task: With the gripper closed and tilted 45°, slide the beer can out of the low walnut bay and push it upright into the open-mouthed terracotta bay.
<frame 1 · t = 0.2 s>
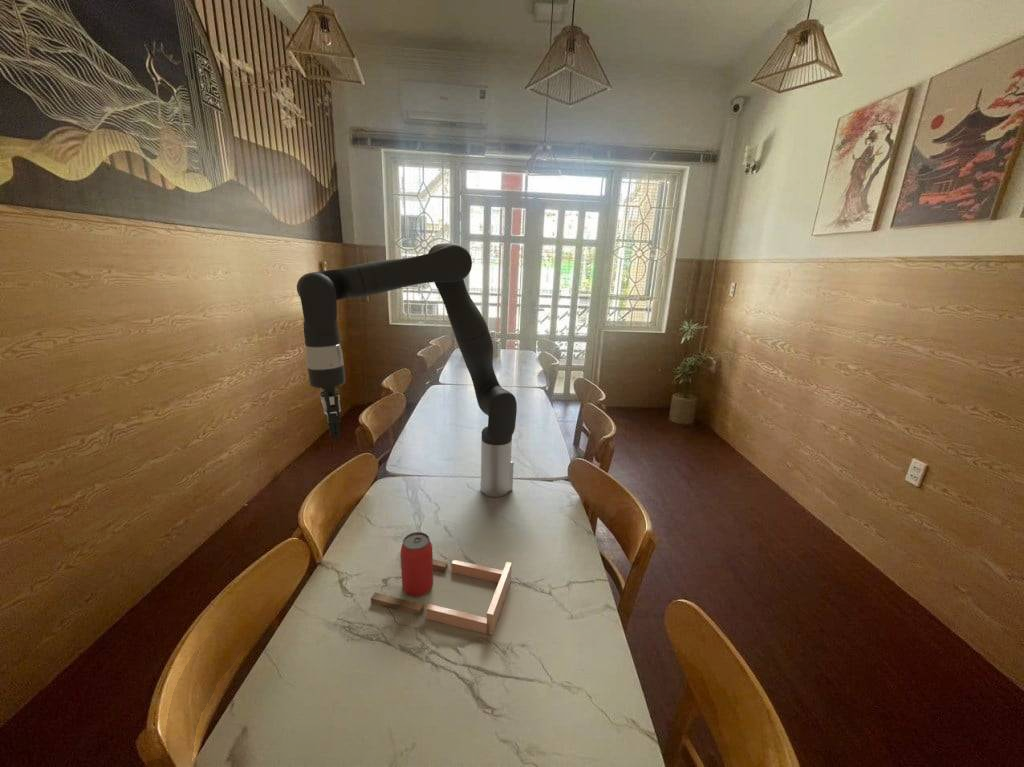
hand: (334, 430, 97), 29 cm above the table, tool pointing down, fingers open, 8 cm apart
walnut bay: (417, 586, 90), on the table
beer can: (417, 587, 90), on the table
terracotta bay: (469, 598, 87), on the table
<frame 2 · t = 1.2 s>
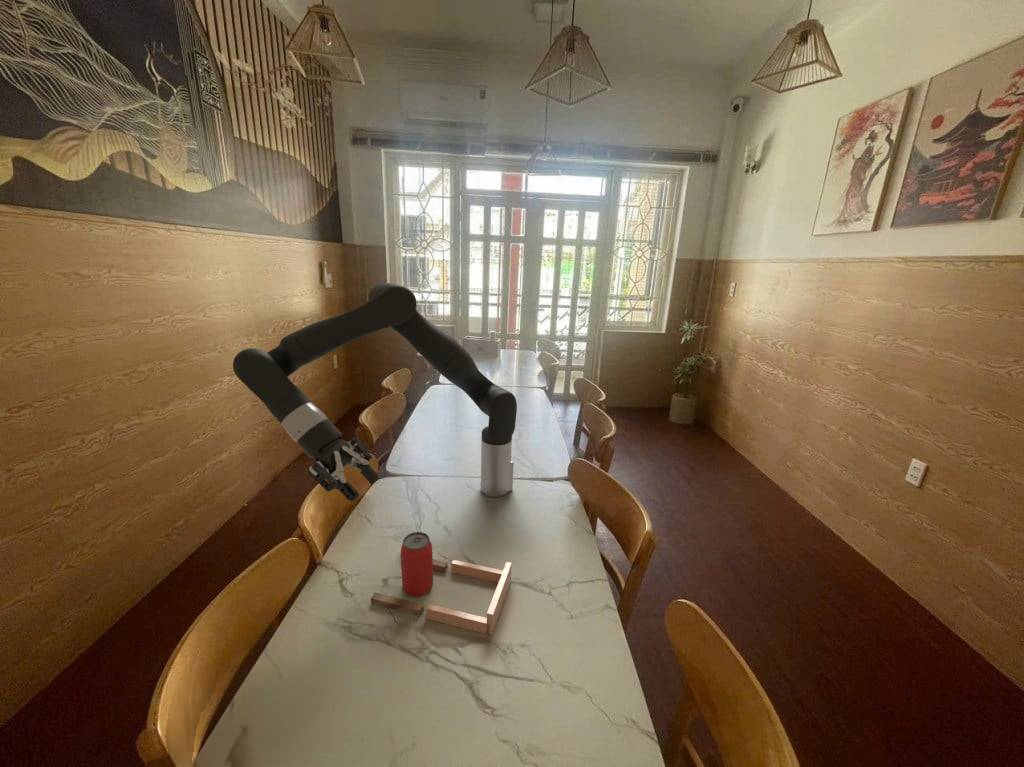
hand: (366, 489, 85), 22 cm above the table, tool tilted 45°, fingers open, 6 cm apart
nothing on the table moved.
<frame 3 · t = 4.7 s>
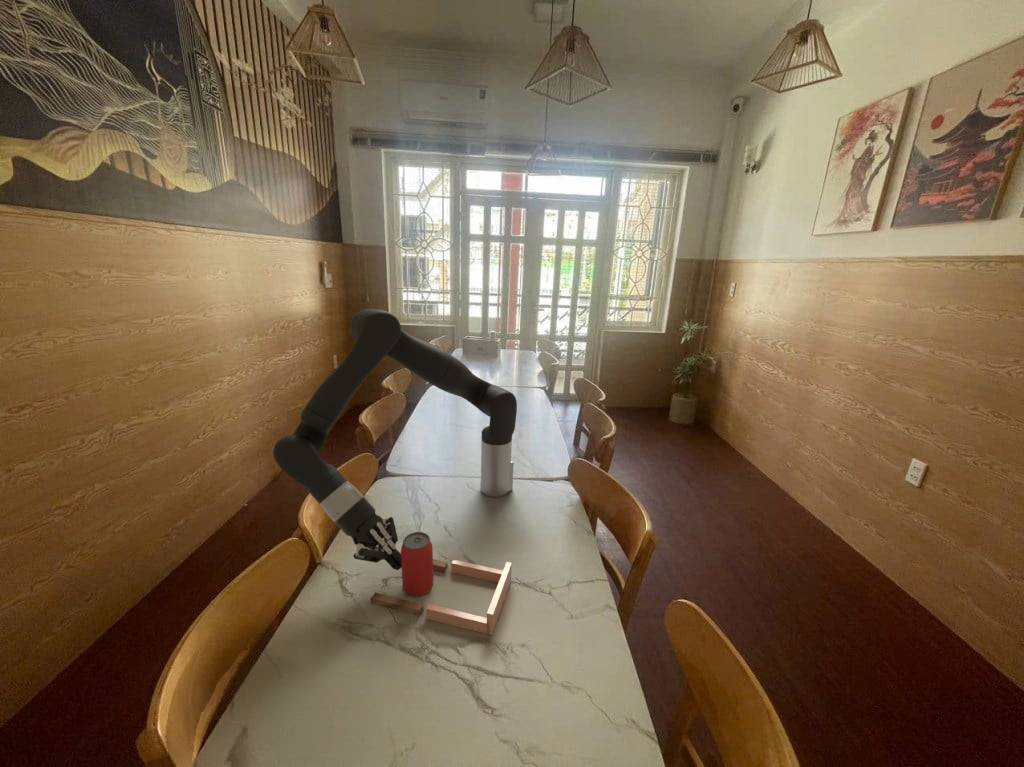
hand: (401, 566, 90), 4 cm above the table, tool tilted 45°, fingers closed
beer can: (418, 587, 90), on the table, touching gripper
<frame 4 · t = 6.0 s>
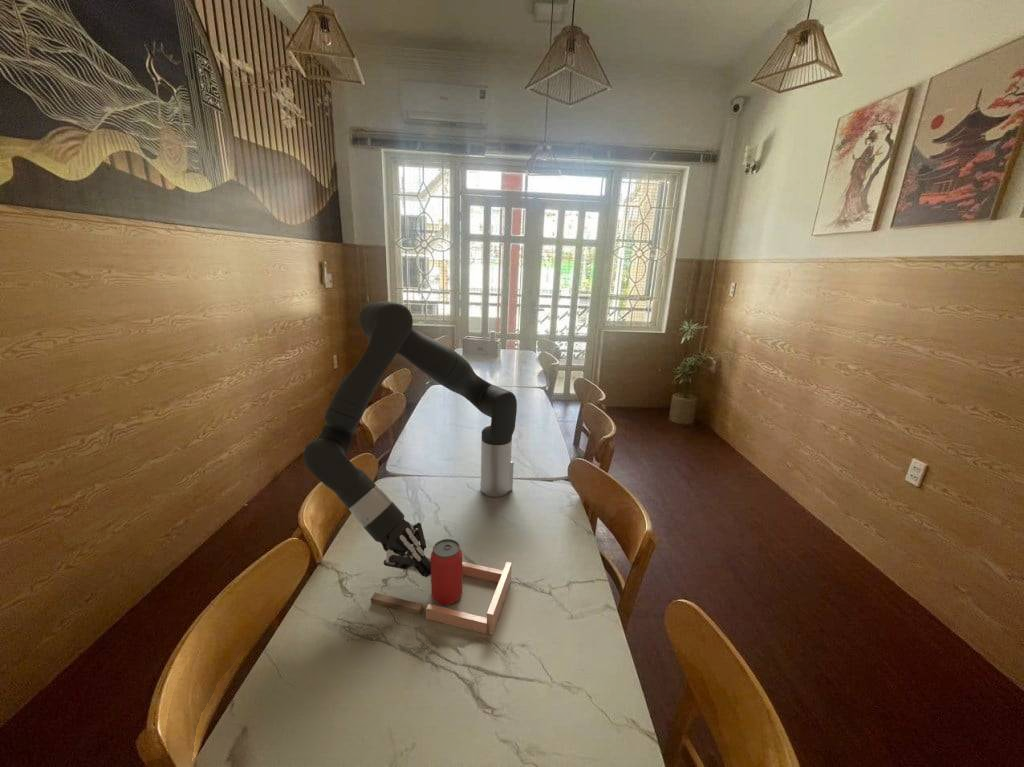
hand: (430, 573, 88), 4 cm above the table, tool tilted 45°, fingers closed
beer can: (447, 595, 88), on the table, touching gripper
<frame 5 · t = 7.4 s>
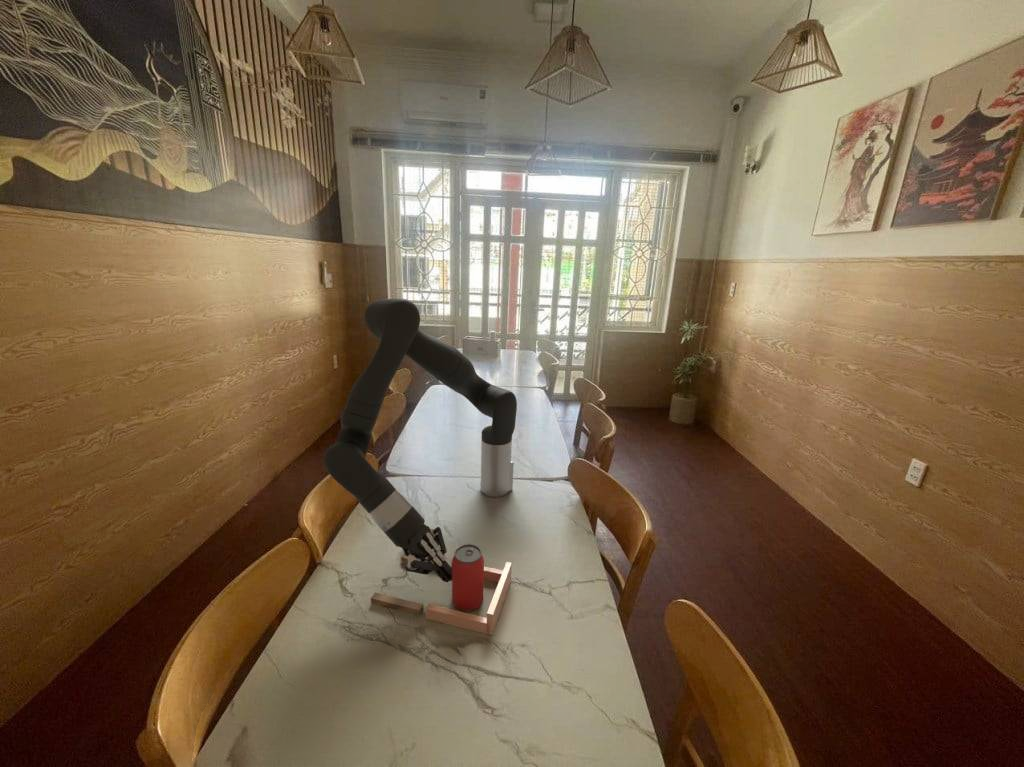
hand: (451, 578, 87), 4 cm above the table, tool tilted 45°, fingers closed
beer can: (467, 600, 87), on the table, touching gripper
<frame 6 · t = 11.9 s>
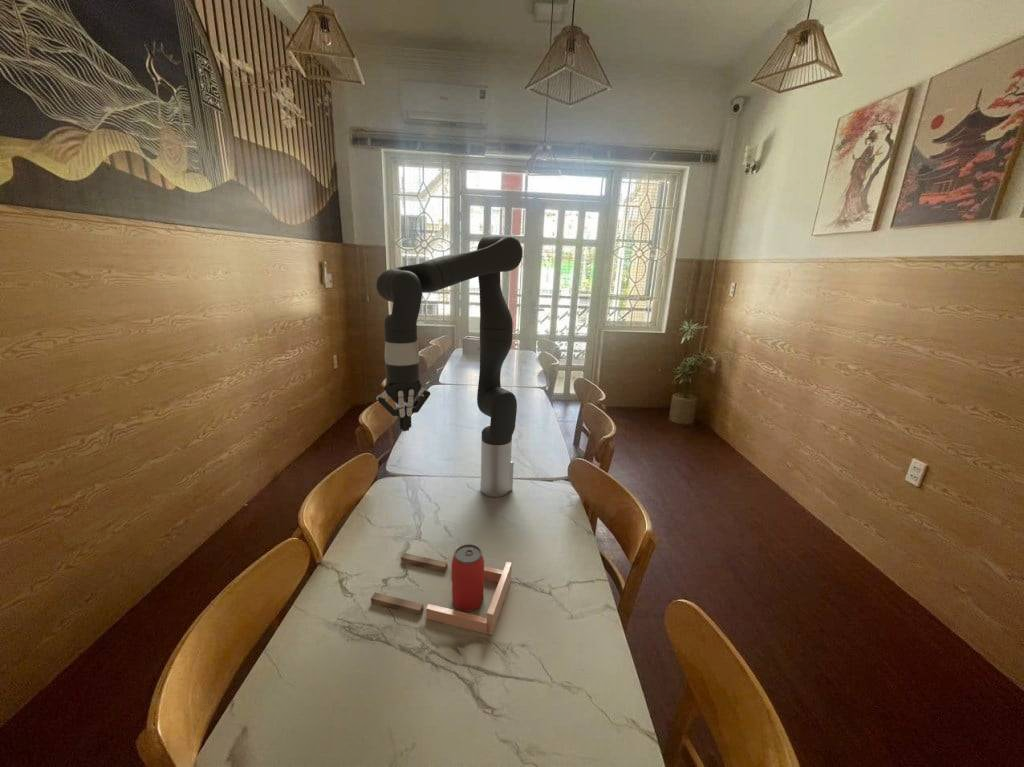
hand: (405, 429, 99), 29 cm above the table, tool pointing down, fingers closed
beer can: (467, 601, 87), on the table
at the end: beer can inside the target area on the terracotta bay (0.5 cm from its centre), point 0.0 cm above the terracotta bay's base; beer can tilted 0° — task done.
